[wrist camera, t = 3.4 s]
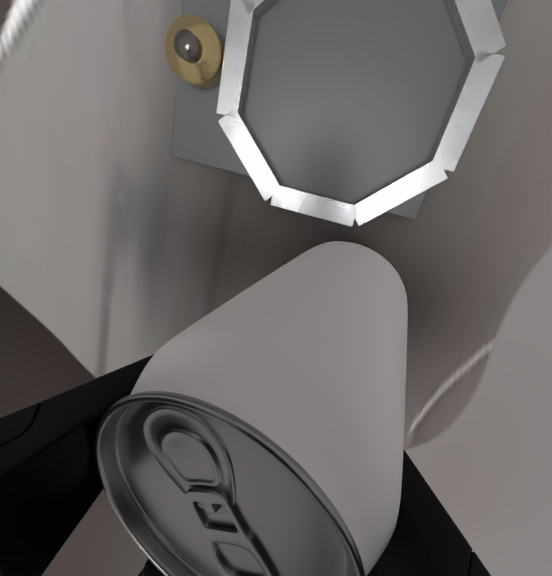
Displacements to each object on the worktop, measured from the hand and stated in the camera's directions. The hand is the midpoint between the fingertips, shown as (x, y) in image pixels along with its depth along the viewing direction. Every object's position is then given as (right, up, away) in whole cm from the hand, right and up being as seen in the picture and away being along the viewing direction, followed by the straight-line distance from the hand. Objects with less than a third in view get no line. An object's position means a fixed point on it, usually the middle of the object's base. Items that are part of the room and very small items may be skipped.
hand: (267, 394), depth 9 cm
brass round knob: (-3, +14, +5) cm, 15 cm away
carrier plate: (+2, +13, +5) cm, 14 cm away
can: (+4, +3, +7) cm, 8 cm away
